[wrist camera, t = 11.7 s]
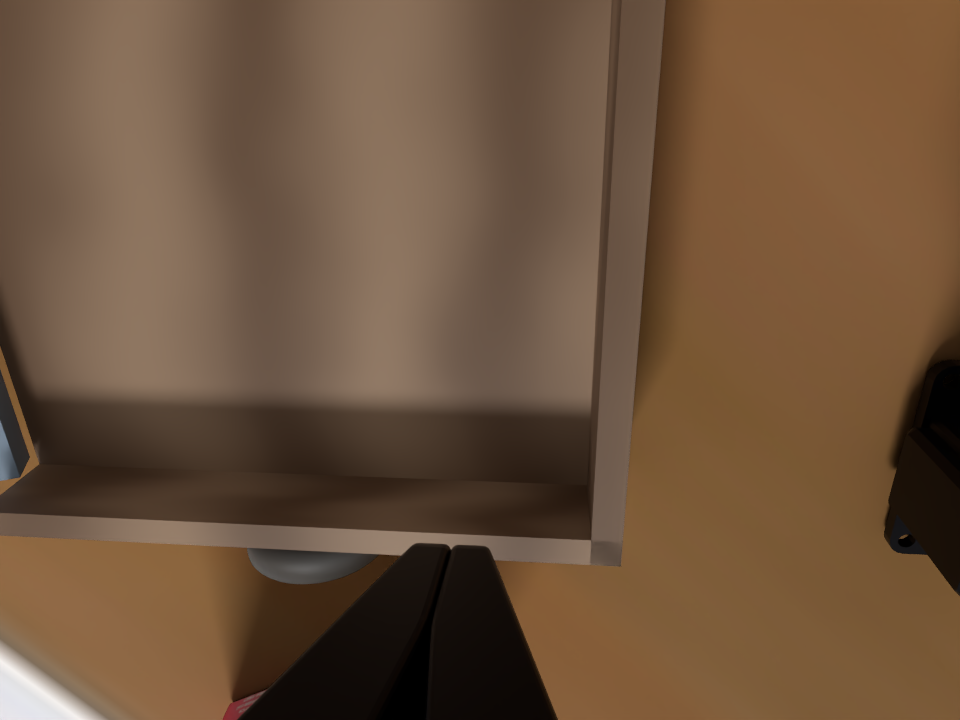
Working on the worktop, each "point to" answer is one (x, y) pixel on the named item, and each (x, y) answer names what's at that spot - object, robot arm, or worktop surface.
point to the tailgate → (10, 439)
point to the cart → (326, 272)
